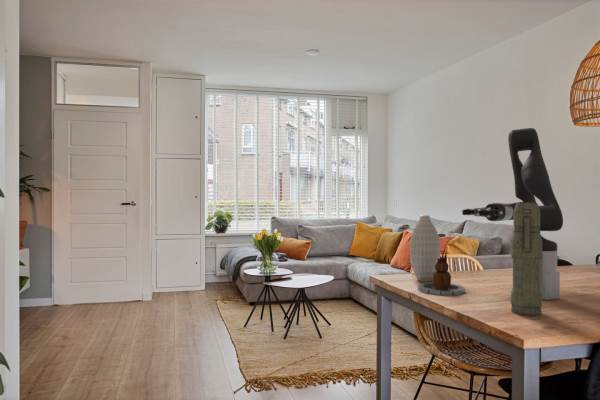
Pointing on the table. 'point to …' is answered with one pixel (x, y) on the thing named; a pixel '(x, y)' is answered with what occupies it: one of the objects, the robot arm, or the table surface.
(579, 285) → the table surface
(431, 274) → the vase
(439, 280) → the wooden figurine
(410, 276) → the table surface
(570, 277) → the table surface
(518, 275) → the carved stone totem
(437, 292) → the steel ring
